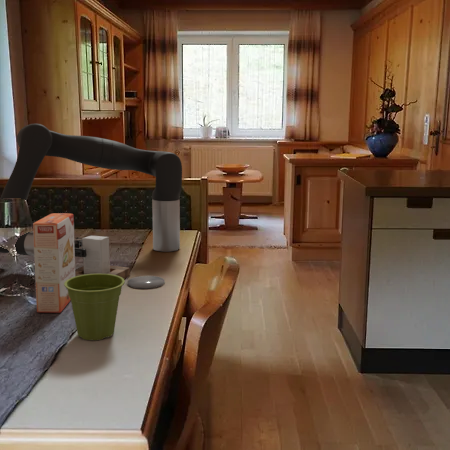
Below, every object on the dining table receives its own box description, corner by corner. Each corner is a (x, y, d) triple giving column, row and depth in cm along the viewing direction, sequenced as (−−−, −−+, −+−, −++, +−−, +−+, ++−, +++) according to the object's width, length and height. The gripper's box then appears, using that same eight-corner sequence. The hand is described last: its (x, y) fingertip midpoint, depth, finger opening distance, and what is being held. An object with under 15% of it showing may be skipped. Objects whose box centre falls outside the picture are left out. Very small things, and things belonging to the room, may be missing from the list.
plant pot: (70, 350, 100) (68, 293, 98) (63, 328, 111) (60, 276, 108) (132, 340, 105) (130, 286, 102) (119, 320, 115) (117, 270, 113)
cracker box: (62, 313, 119) (58, 222, 115) (35, 313, 119) (30, 222, 115) (78, 294, 133) (74, 212, 129) (54, 294, 133) (49, 212, 129)
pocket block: (90, 271, 153) (90, 263, 153) (129, 275, 149) (129, 267, 148) (62, 283, 141) (62, 275, 141) (105, 289, 137) (104, 280, 136)
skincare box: (111, 278, 146) (109, 236, 144) (102, 283, 142) (101, 239, 140) (92, 276, 148) (90, 235, 146) (83, 280, 144) (81, 238, 142)
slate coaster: (138, 276, 149) (138, 274, 148) (170, 280, 145) (170, 277, 145) (120, 286, 139) (120, 284, 139) (154, 290, 136) (154, 288, 136)
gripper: (27, 236, 142) (78, 241, 136) (60, 227, 155) (108, 231, 149) (29, 263, 143) (80, 269, 138) (61, 252, 156) (109, 256, 151)
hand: (94, 249), depth 144 cm, fingers open, 8 cm apart
